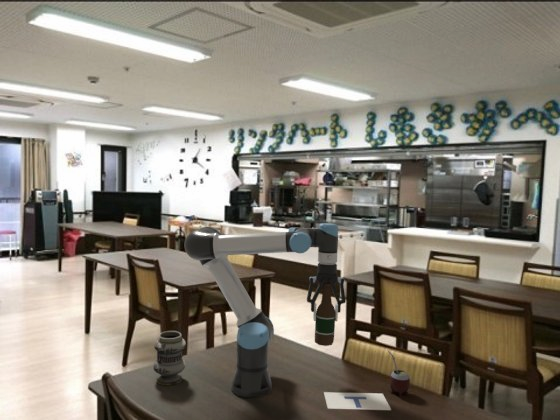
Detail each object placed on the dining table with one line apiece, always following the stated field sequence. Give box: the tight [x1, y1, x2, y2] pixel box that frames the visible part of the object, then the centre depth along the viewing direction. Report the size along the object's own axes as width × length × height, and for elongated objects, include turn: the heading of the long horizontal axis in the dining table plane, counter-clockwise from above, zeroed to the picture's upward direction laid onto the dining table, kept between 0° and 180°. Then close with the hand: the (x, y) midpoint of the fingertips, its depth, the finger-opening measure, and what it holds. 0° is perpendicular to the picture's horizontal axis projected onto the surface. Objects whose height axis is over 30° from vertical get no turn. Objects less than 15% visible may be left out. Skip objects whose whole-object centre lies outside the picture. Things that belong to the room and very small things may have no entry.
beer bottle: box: [314, 283, 336, 347], centre depth 179 cm, size 8×8×24 cm
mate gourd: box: [387, 349, 411, 398], centre depth 170 cm, size 8×8×15 cm
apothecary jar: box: [152, 330, 187, 386], centre depth 175 cm, size 12×12×18 cm
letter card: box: [323, 391, 392, 411], centre depth 163 cm, size 22×12×1 cm, turn 91°
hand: (325, 320), depth 179 cm, fingers closed on beer bottle, 8 cm apart
